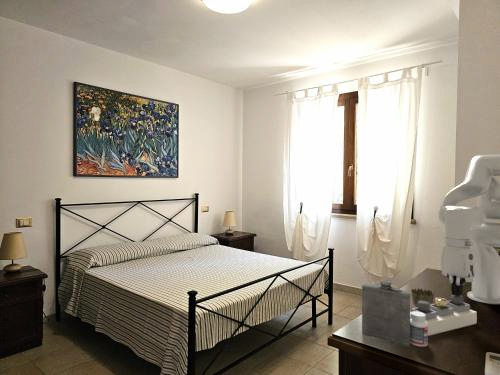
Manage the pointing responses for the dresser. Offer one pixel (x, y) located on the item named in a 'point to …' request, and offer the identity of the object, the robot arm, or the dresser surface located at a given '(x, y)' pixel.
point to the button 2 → (457, 300)
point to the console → (448, 317)
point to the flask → (386, 313)
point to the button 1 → (424, 306)
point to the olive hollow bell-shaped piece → (422, 296)
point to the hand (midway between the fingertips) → (456, 295)
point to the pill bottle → (418, 329)
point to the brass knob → (441, 303)
